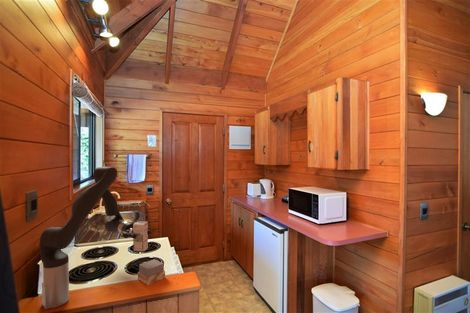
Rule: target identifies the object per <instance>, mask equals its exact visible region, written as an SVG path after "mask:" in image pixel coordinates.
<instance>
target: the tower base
mask: <svg viewBox="0 0 470 313" xmlns="http://www.w3.org/2000/svg"><path fill="white" fill-rule="evenodd" d="M163 278H164V279H165V278H166V271H165V270H164V271H163V272H160V273H158V274H156V275H153V276H151V277H147V276H145V275H143V274H142V273H140V272H139V271H138V272H137V280H138V281H140V280H141V281H140V282H142V281H143V282H144V283H143V282H142V283H143V284H145V283H146V284H147V286H150V285H152V284H155V283H157V282H159V281H161V280H164V279H163ZM158 280H159V281H158ZM156 281H157V282H156ZM154 282H155V283H154ZM151 283H152V284H151ZM146 284H145V285H146ZM149 284H150V285H149Z"/></svg>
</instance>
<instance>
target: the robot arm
mask: <svg viewBox="0 0 470 313" xmlns="http://www.w3.org/2000/svg"><path fill="white" fill-rule="evenodd" d="M117 177H118V170H117V168H116V167H114V166H98V167H96V168H95V169H94V171H93V179H94V182H95V184H93V185H91V186H89V187H88V188H86V189H84V190H82V191H81V192H80V193H79V194H78V196H77V197H76V198H75V199H74V200H73V202H72V205H71V216H70V218H69V220H68V221H67V222H66V224H65V225H64V226H63V227H62V226H61V227H59V226H58V227H57V226H50V227H47V228H45V229H44V230H43V231H42V232H41V235H40V238H39V254H40V256H39V257H40V261H41V263H42V278H43V279H42V283H41V305H42V306H43V308H44V310H48V309H54V308H58V307H61V306H63V305H64V304H66V303H67V302H68V301H69V300H70V287H69V286H70V278H69V277H70V273H69V272H70V271H69V268H70V265H69V263H70V262H69V261H70V259H69V254H67V253H66V252H64V251H63V250H64V249H67V248H68V247H69V246H70V244H71V243H72V242H73V240H74V239H75V237H76V235H77V234H78V231H79V229H80V228H81V226H82V225H83V224H84V222H85V220H86V219H87V218H88V216H89V215H90V213H91V212H92V211H93V209H94V208H95V206H96V205H97V203H98V202H99V200H100V199H101V198H102V203H103V206H104V212H105V215H106V216H107V217H112V218H109V219H107V220H106V222H105V223H104V228H105V230H106V231H108V232H112V233H117V232H118V233H120V237H122V238H124V239H128V238H131V239H133V238H134V239H135V238H136V234H134V233H133V224H134V223H135V222H132V221H128V220H125V219H124V218H123V216H122V215H121V212H120V211H119V206H118V202H117V198H116V197H115V195H114V194H113V193H112V192H111V191H110V189H109V188H110V187H111V186H112V184H114V182H115V181H116V179H117ZM113 216H114V217H113ZM151 233H152V232H151V230H150V227H149V226H148V236H149V235H151Z"/></svg>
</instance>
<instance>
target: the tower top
mask: <svg viewBox="0 0 470 313" xmlns="http://www.w3.org/2000/svg"><path fill="white" fill-rule="evenodd" d="M164 264H165V263H164V262H161V261H159V260H157V259H155V258H154V259H151V260H148V261H145V262H142V263H140V264H139V266H138V269H139V271H138V272H140V273H142V274H143V275H145V276H147V277H151V276H153V275H156V274H158V273H160V272H163V271H165V265H164Z"/></svg>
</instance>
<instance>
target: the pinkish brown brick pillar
mask: <svg viewBox="0 0 470 313" xmlns="http://www.w3.org/2000/svg"><path fill="white" fill-rule="evenodd" d="M133 223H134V224H133V233H134V234H136V238H135V239H134V238H132V244H133V248H132V250H133V252H138V253H139V252H142V253H143V252H146V250H147V249H148V248H149V244H148V243H149V241H148V240H149V235H148V227H149V222H148V221H136V222H133Z"/></svg>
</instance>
